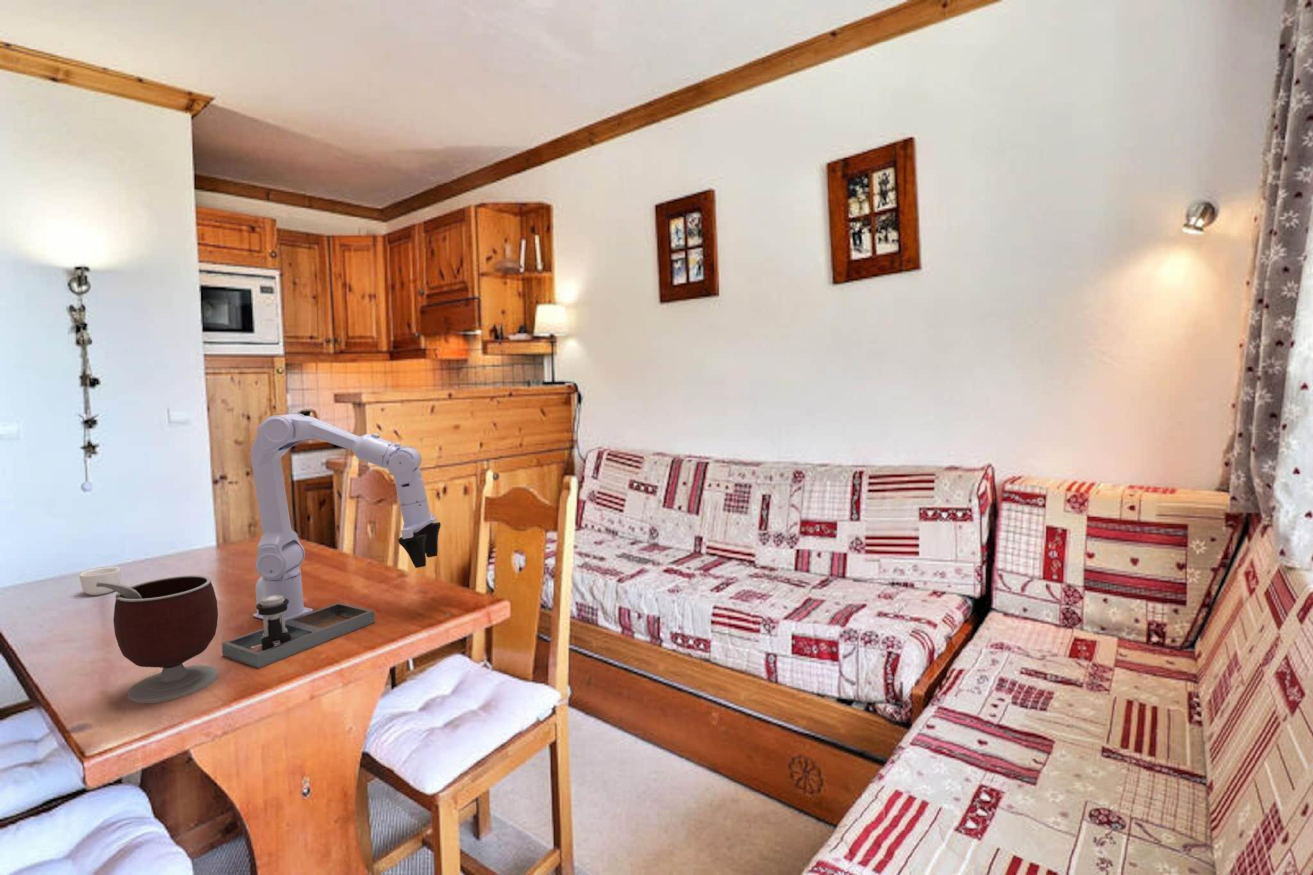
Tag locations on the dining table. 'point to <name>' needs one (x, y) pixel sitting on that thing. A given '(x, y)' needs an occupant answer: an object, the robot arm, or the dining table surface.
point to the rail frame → (300, 634)
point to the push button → (273, 622)
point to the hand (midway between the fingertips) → (426, 561)
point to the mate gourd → (166, 633)
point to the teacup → (99, 580)
